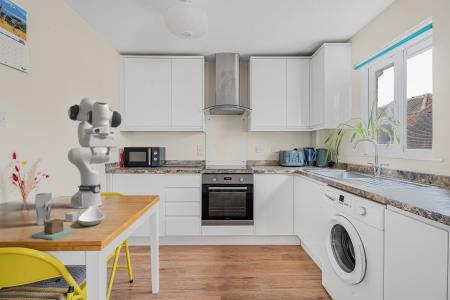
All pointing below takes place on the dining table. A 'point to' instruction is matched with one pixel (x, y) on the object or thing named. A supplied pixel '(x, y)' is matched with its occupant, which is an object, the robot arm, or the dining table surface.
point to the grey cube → (71, 216)
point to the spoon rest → (91, 216)
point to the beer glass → (43, 207)
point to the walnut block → (53, 226)
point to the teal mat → (54, 236)
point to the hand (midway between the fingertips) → (101, 155)
